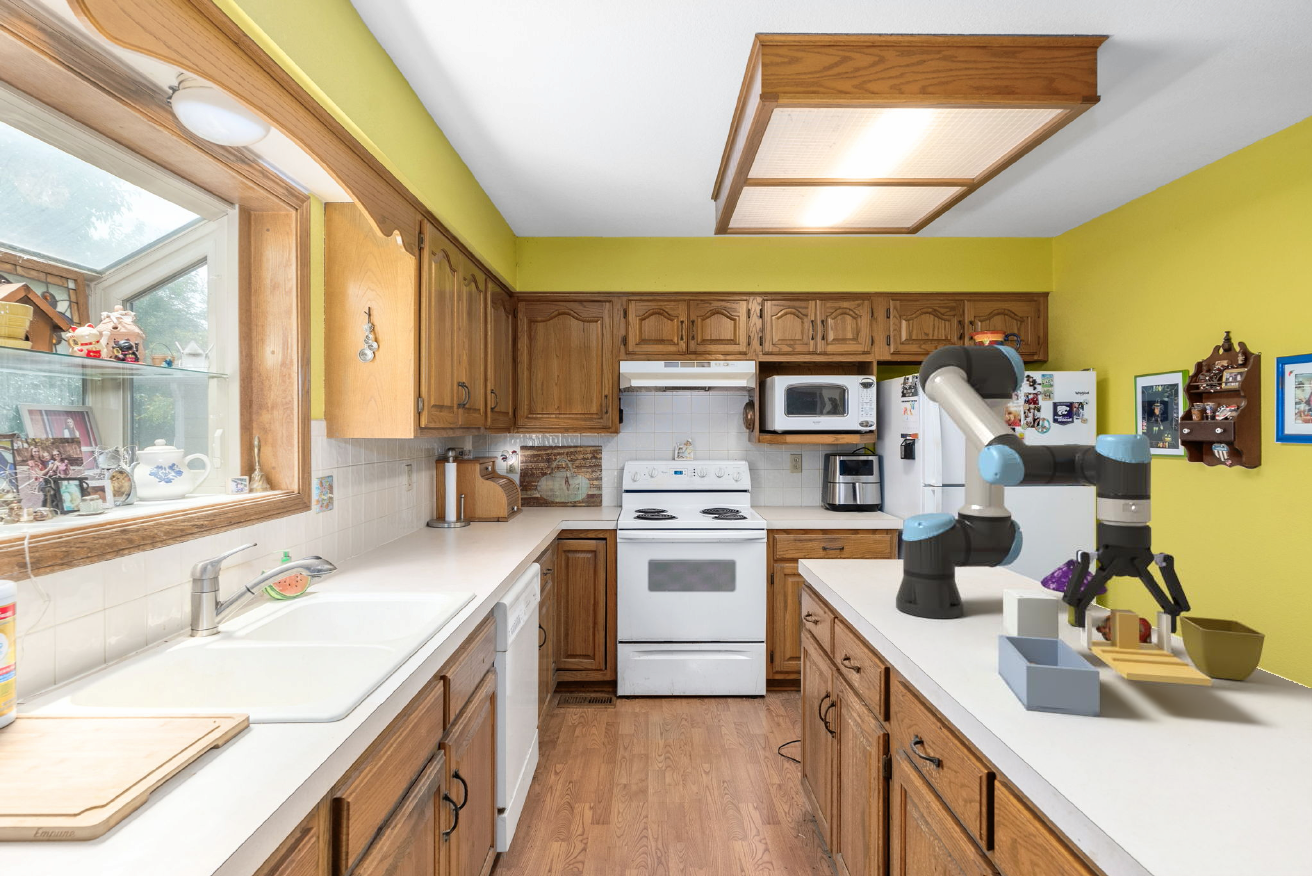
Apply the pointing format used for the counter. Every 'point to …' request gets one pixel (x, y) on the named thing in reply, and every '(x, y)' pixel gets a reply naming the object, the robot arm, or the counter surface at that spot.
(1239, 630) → the flower pot
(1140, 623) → the dragon fruit
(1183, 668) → the lid
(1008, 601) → the supplement box
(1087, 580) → the decorative mushroom
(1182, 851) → the counter surface
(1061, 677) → the tub
